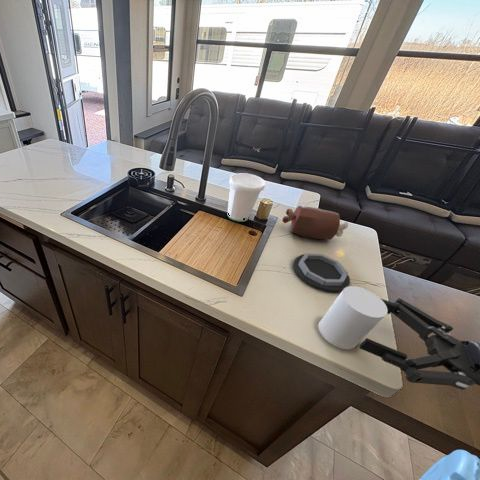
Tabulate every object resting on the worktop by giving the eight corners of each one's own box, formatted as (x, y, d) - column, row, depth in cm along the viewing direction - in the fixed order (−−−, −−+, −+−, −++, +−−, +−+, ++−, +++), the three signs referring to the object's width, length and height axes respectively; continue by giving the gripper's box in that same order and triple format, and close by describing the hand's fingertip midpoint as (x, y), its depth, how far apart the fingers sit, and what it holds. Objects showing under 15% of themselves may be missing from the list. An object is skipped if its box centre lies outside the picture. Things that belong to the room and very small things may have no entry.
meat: (335, 232, 94) (349, 208, 88) (341, 250, 86) (357, 226, 79) (278, 220, 99) (288, 196, 93) (278, 236, 91) (289, 212, 84)
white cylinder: (364, 349, 57) (397, 318, 50) (329, 348, 57) (356, 316, 50) (344, 319, 64) (370, 286, 56) (312, 317, 64) (334, 285, 56)
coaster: (359, 293, 71) (364, 286, 69) (306, 292, 70) (310, 285, 69) (330, 257, 83) (334, 250, 81) (285, 256, 82) (288, 249, 80)
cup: (216, 217, 99) (224, 181, 89) (229, 204, 107) (237, 170, 98) (247, 228, 93) (259, 191, 84) (258, 214, 102) (269, 179, 92)
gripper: (503, 446, 41) (354, 377, 49) (455, 329, 59) (350, 292, 67) (549, 431, 37) (376, 357, 45) (482, 309, 54) (366, 271, 62)
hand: (360, 318), depth 56 cm, fingers open, 13 cm apart
